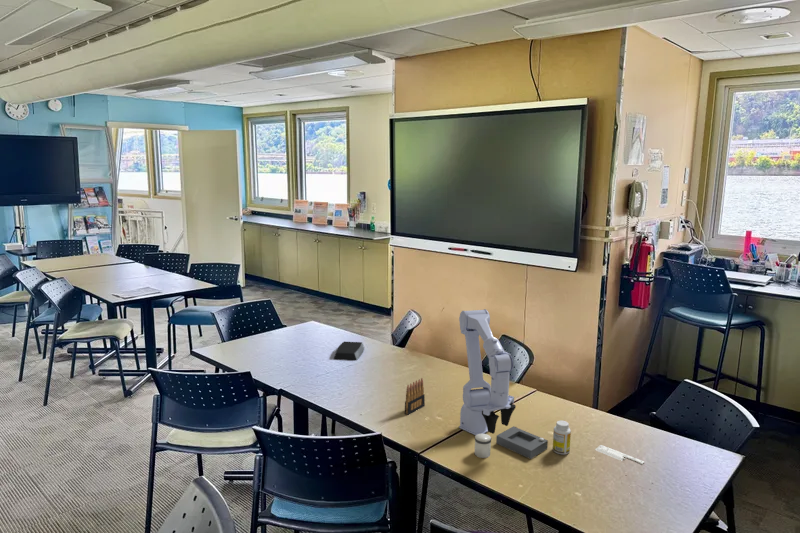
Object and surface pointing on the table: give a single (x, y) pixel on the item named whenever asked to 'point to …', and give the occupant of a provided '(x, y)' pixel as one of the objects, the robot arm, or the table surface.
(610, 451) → the white plastic blade
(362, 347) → the external hard drive
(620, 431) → the table surface
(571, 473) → the table surface
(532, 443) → the grey panel with knob
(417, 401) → the ammunition clip
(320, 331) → the table surface
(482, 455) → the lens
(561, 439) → the supplement bottle
